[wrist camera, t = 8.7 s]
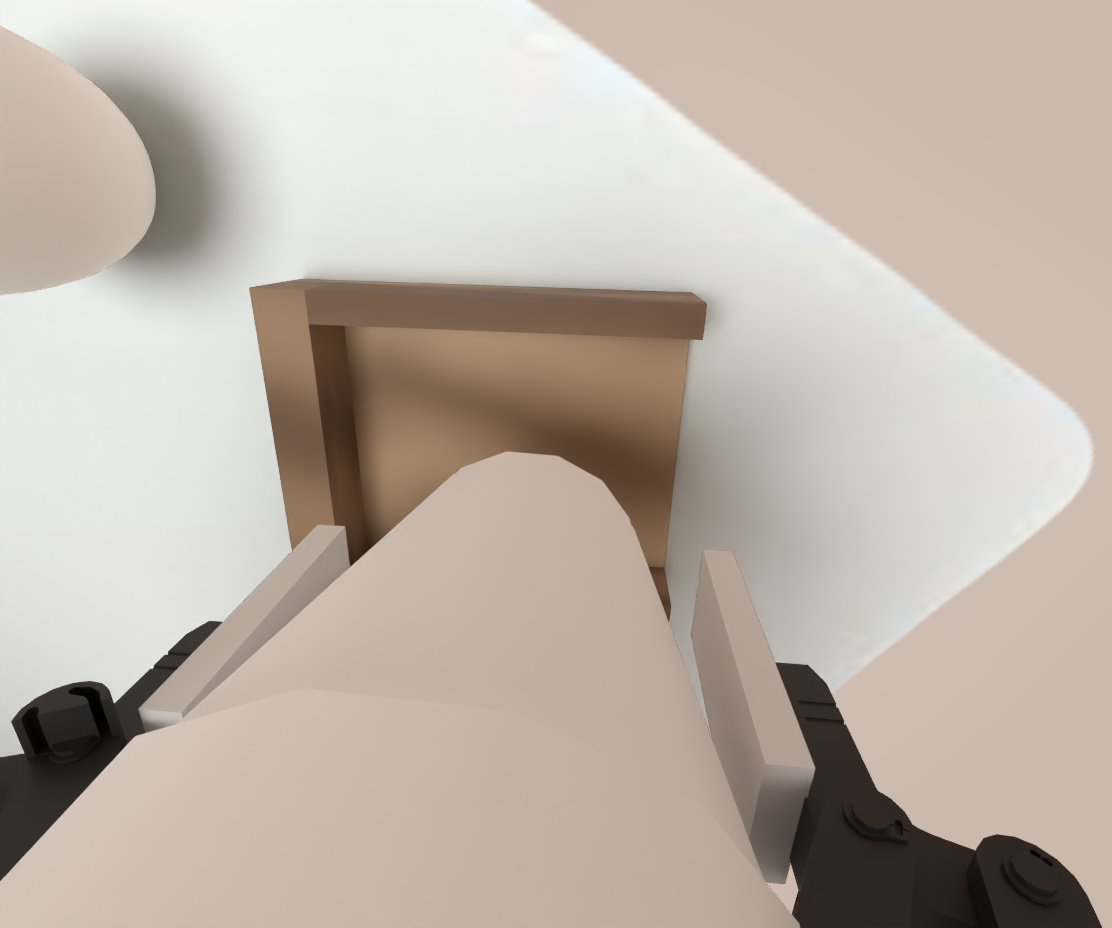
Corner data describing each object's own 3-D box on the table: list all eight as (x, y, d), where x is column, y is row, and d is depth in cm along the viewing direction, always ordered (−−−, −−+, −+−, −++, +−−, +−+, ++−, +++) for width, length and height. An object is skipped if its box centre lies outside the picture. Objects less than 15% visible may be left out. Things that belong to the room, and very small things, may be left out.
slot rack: (640, 766, 33) (644, 830, 29) (361, 742, 34) (333, 802, 30) (691, 292, 23) (707, 304, 20) (300, 279, 24) (249, 287, 21)
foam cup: (624, 711, 19) (650, 1516, 7) (351, 631, 19) (-94, 1332, 7) (741, 454, 16) (1181, 1210, 4) (405, 350, 15) (-330, 800, 3)
